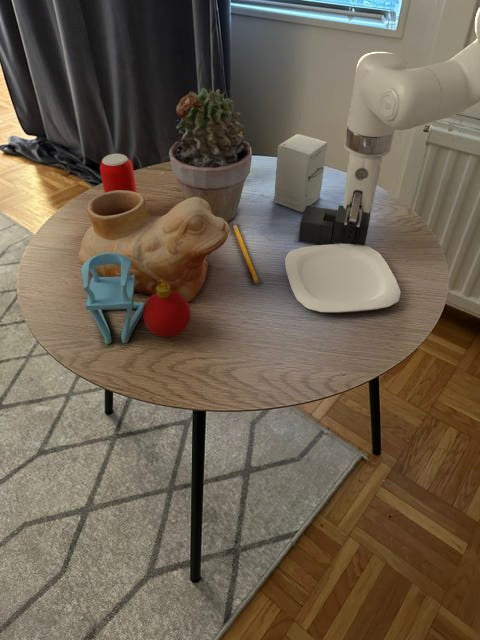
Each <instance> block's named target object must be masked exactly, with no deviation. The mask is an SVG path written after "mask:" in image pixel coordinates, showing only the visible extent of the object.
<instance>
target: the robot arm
mask: <svg viewBox="0 0 480 640" xmlns="http://www.w3.org/2000/svg"><path fill="white" fill-rule="evenodd" d="M474 31H475V36H476V38H475V40H474V41H473V42H471V43H470V44H469V45H467V46H465V48H463V49H462V50H461V51H459V52H458V53H456V54H455V55H454V56H453V57H451V58H450V59H448V60H446V61H443V62H438V63H433V64H429V65H425V66H420V67H416V68H415V67H414V68H409V63H408V61H407V59H406V58H405V57H404V56H402V55H399V54H397V53H394V52H387V51H374V52H370V53H366V54H364V55H363V56H361V58H360V59H359V60H358V62H357V65H356V69H355V74H354V80H353V81H354V82H353V88H352V93H351V100H350V105H349V106H350V107H349V113H348V119H347V125H346V132H345V137H344V144H343V147H344V149H345V151H347V152H348V153H349V158H348V163H347V170H346V178H345V186H344V196H343V206H344V209H345V210H346V209H347V212H346V217H345V222H343V226H342V231H341V237H340V241H341V242H344V243H351V244H357V243H358V238H359V233H360V229H361V224H360V222H361V217H362V212H363V211H364V212H367V213H370V212H372V210H373V204H374V201H375V196H376V191H377V186H378V181H379V177H380V173H381V167H382V162H383V157H385V156H387V155H388V154H390V152H391V148H392V145H393V140H394V135H395V130H396V131H405V130H410V129H413V128H416V127H420V126H424V125H426V124H431V123H433V122H436V121H440V120H444V119H448V118H451V117H454V116H457V115H458V114H460V113H463V112H464V111H466V110H468V109H469V108H471V107H473V106H474V105H476V104H479V102H480V7H478V10H477V12H476V16H475V20H474ZM350 211H351V213H350V216H349V212H350ZM358 212H359V217H357V215H358ZM370 214H371V213H370Z"/></svg>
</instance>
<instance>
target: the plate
mask: <svg viewBox="0 0 480 640" xmlns="http://www.w3.org/2000/svg"><path fill="white" fill-rule="evenodd" d="M284 266H285V272H286V276H287V279H288V282H289V286H290V288H291V291H292V294H293V295H294V298H295V299H296V301H297V302H298V303H299V304H300V305H301V306H303V307H304V308H305V309H306V310H308V311H313V312H316V313H321V314H323V313H324V314H344V313H359V312H369V311H376V310H383V309H388V308H390V307H392V306H394V305H395V304H397V303H399V301H400V298H401V293H402V292H401V291H402V290H401V289H400V285H399V283H398V280H397V278H396V277H395V275H394V273H393V272H392V270H391V268H390V266H389V265H388V263H387V261H386V259H384V257H383V256H382V255H381V253H380V252H378V251H377V250H375V249H373V248H372V247H370V246H368V245H359V244H341V243H331V244H330V245H316V244H315V245H309V246H302V247H298V248H295V249H292V250H291V251H289V252H288V253H287V255H286V257H285V258H284Z"/></svg>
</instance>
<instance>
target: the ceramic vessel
mask: <svg viewBox="0 0 480 640" xmlns="http://www.w3.org/2000/svg"><path fill="white" fill-rule="evenodd" d="M86 210H87V214H88V217H89V219H90V223H91V226H90V227H88V228H87V230H86V231H85V233H84V234H83V237H82V240H81V243H80V248H79V252H78V260H79V263H80V264H81V267H82V266H83V264H84V263H86V262H87V261H88V260H89V259H90V258H92V257H94V256H96V255H99V254H102V253H116V254H120V255H124V256H126V257H128V258H130V259H131V266H130V271H129V274H130V276H131V275H135V287H134V294H141V295H145V296H146V295H147V296H148V295H150V296H152V295H153V294H154V293H156V292H157V290H156V287H157V285H158V281H159V280H163V281H165V282H166V283H167V284H169V285H170V287H171V288H170V290H171V291H175V292H177V293H179V294H181V295H182V296H183V297H184V298H185V299H186V300H187V302H188V303H190V302H191V301H193V299H194V298H195V297H196V296H197V294H198V293H199V292H200V290H201V289H202V288H203V285H204V282H205V280H206V276H207V272H208V266H209V265H208V262H207V261H208V260H206V257H207V256H210V254H212V253H213V252H215V251H217V250H218V249H219V248H221V247H222V246H224V244H225V242H226V241H227V239H228V238H229V234H230V226H229V223H228V222H226V221H225V220H224V219H223V218H219V217H215V216H214V215H213V214H212V212H211V208H210V205H209V204H208V203H207V201H205V200H204V199H201V198H199V197H192V198H189V199H186V200H185V199H184V200H183V201H181V202H179V203H177V204H176V205H175V206H173V207H172V208H171V209H170V210H169V211H168V212H167V213H166V214H164V215H158V216H156V215H155V216H154V215H150V214H149V212H148V208H147V203H146V199H145V197H144V196H143V195H142V194H141V193H138V192H137V193H136V192H132V191H123V190H117V191H111V192H106V193H105V192H102V193H99V194H98V195H96V196H94V197H93V198H92V199H90V201H89V202H88V203H87V208H86ZM95 269H96V271H97V273H98V275H99V277H119V276H121V265H117V264H106V265H100V266H97V267H95ZM89 276H91V278H92V277H93V274H92V272H91V269H90V273H89ZM161 283H163V282H162V281H159V284H161Z"/></svg>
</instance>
